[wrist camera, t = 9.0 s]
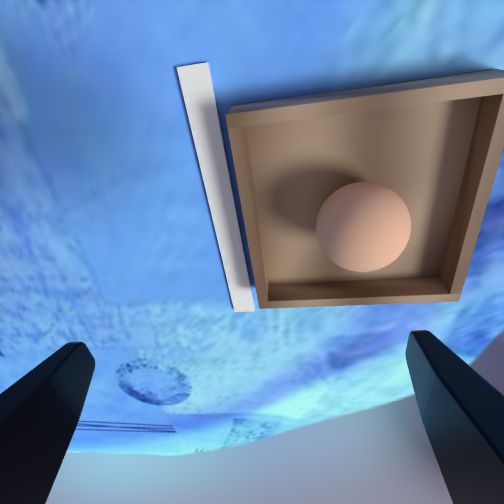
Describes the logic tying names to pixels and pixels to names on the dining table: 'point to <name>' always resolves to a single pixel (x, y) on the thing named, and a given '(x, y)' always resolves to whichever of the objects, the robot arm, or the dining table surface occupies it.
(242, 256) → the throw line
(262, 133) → the tray
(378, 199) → the ball
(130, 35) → the dining table surface
